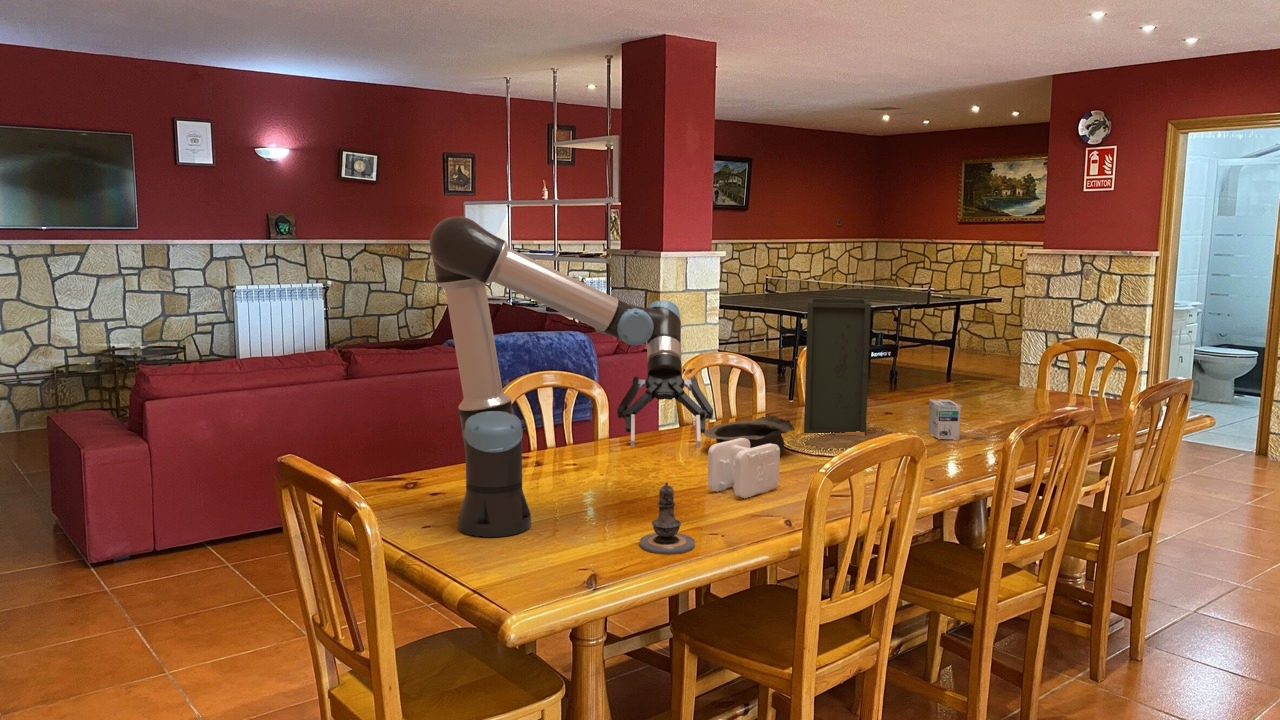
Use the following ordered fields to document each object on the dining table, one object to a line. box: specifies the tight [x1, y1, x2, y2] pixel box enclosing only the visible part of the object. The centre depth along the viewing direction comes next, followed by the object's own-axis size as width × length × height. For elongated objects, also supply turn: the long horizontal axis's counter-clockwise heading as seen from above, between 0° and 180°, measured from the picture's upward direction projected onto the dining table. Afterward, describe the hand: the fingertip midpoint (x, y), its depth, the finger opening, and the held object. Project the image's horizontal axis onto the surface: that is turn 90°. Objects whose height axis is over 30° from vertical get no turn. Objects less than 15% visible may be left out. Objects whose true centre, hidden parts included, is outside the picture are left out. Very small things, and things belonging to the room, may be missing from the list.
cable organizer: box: [707, 438, 781, 500], centre depth 231 cm, size 15×11×12 cm
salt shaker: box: [651, 481, 682, 545], centre depth 192 cm, size 6×6×12 cm
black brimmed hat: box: [702, 416, 796, 455], centre depth 271 cm, size 25×25×9 cm
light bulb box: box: [927, 398, 962, 440], centre depth 293 cm, size 11×7×11 cm, turn 179°
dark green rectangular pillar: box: [803, 298, 872, 434], centre depth 301 cm, size 18×18×40 cm
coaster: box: [639, 532, 696, 555], centre depth 193 cm, size 11×11×1 cm
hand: (665, 444), depth 200 cm, fingers open, 13 cm apart
